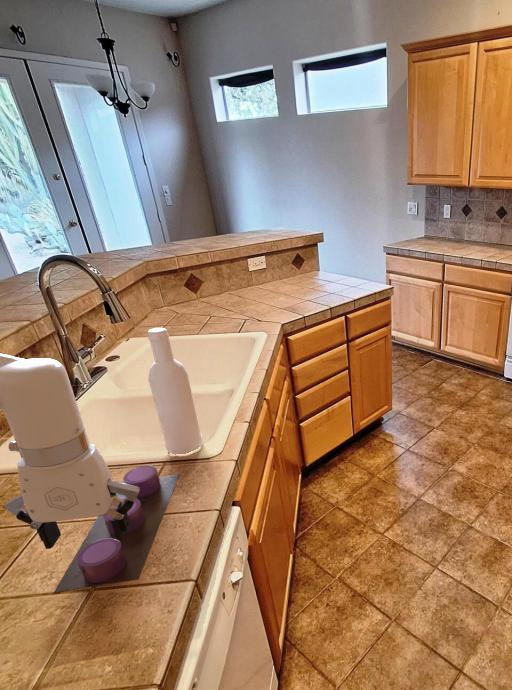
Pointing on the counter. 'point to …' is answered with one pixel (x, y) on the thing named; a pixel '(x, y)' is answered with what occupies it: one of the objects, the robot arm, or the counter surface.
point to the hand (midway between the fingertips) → (89, 537)
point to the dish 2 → (143, 480)
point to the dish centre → (134, 516)
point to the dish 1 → (102, 560)
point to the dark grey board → (125, 539)
